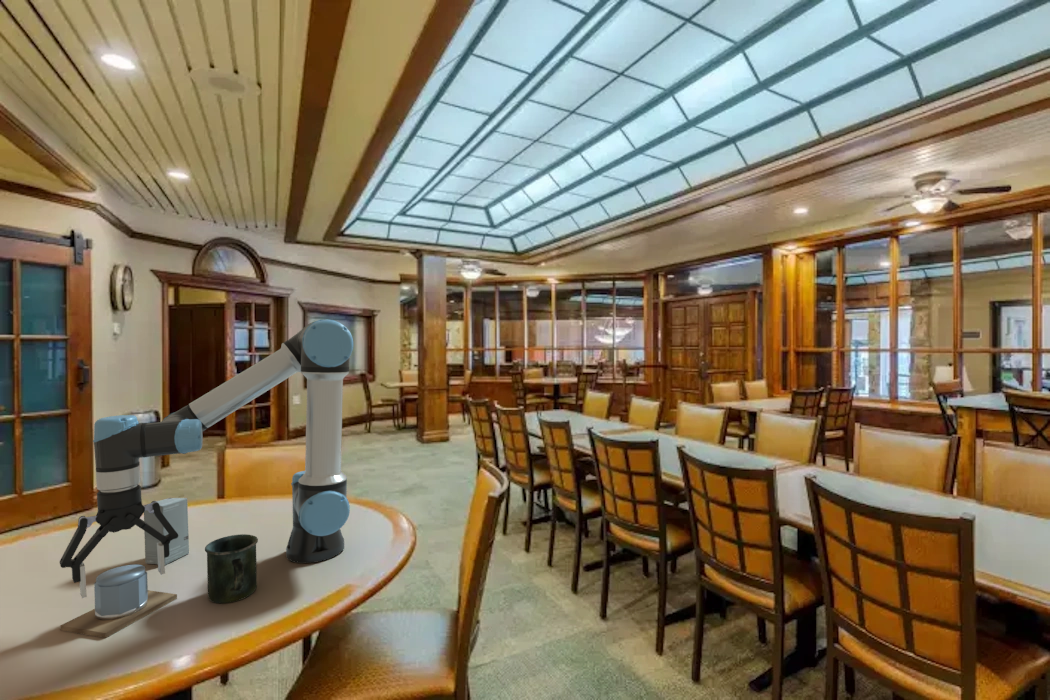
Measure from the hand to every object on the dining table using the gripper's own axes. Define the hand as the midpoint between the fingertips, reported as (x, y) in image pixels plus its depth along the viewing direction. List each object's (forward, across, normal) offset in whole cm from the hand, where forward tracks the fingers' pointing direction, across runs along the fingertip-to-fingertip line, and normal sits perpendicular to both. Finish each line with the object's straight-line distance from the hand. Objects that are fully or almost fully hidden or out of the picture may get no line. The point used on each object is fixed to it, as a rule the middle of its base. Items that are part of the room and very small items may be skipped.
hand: (124, 583), depth 112 cm
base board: (+6, +1, 0) cm, 7 cm away
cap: (+4, +1, 0) cm, 5 cm away
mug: (+7, -19, +9) cm, 22 cm away
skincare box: (+7, -13, -26) cm, 30 cm away
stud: (+6, +1, 0) cm, 7 cm away
